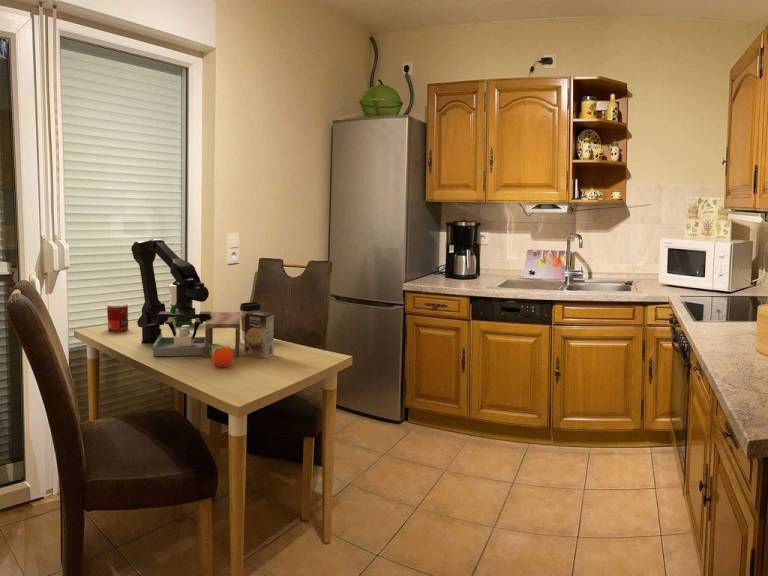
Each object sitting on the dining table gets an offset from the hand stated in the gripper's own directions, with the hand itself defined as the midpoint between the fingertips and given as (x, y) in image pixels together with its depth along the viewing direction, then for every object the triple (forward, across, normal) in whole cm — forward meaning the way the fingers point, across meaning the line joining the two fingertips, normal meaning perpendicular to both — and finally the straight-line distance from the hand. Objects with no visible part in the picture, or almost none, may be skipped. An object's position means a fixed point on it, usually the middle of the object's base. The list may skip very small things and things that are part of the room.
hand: (184, 339), depth 216 cm
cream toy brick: (+2, 0, 0) cm, 2 cm away
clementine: (+5, +14, -22) cm, 27 cm away
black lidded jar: (+5, +24, +17) cm, 30 cm away
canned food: (+5, -30, +35) cm, 46 cm away
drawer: (+4, -1, 0) cm, 4 cm away
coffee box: (+5, +27, -8) cm, 29 cm away
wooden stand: (+4, +14, 0) cm, 15 cm away
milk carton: (+5, -6, +45) cm, 46 cm away
